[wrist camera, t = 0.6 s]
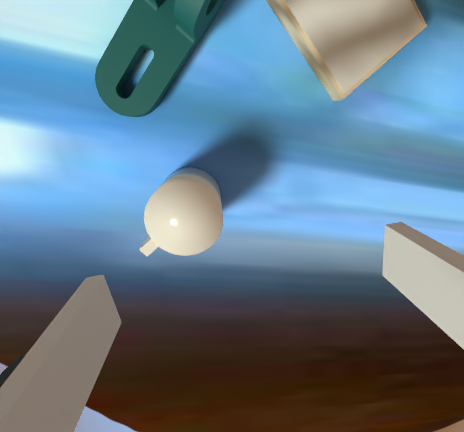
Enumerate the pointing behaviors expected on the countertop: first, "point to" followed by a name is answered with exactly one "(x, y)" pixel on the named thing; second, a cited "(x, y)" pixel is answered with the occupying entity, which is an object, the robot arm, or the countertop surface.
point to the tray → (348, 36)
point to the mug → (184, 214)
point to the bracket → (157, 39)
